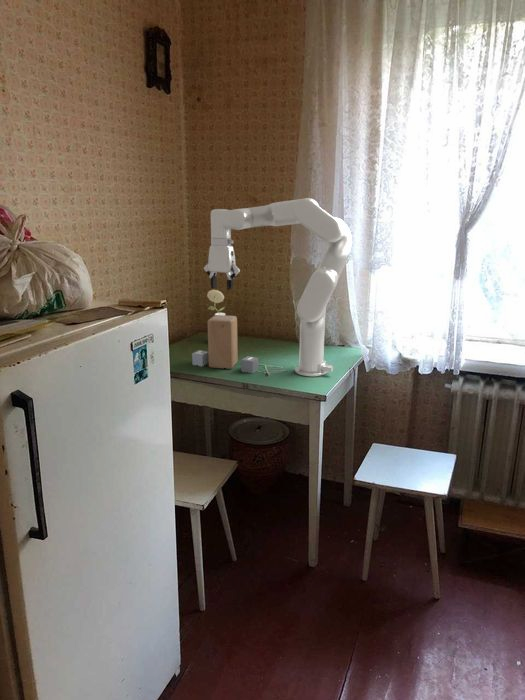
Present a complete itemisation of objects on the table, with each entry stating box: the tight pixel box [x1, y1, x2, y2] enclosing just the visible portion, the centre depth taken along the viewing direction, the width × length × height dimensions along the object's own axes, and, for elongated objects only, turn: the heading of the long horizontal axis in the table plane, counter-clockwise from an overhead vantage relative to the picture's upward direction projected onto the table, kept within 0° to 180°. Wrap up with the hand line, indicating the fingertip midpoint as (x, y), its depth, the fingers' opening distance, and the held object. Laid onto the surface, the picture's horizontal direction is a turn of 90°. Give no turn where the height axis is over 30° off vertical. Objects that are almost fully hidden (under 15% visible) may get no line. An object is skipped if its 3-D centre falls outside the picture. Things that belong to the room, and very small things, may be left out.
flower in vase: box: [206, 289, 226, 315], centre depth 244 cm, size 13×11×25 cm
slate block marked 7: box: [191, 349, 209, 367], centre depth 215 cm, size 5×5×5 cm
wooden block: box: [207, 314, 239, 370], centre depth 211 cm, size 10×10×20 cm
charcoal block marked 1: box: [240, 355, 260, 374], centre depth 207 cm, size 5×5×5 cm
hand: (221, 288), depth 205 cm, fingers open, 6 cm apart
